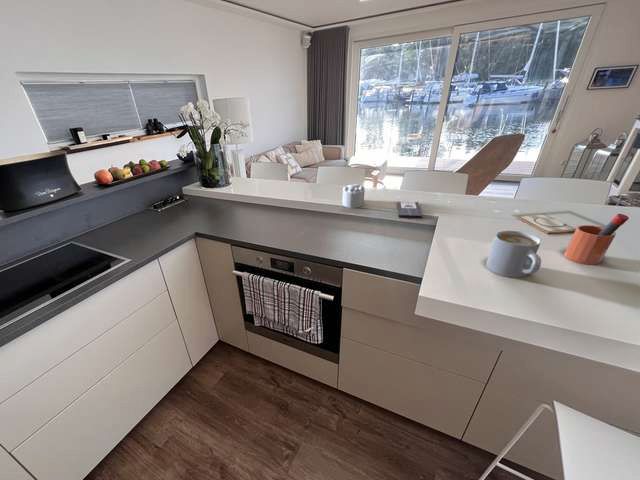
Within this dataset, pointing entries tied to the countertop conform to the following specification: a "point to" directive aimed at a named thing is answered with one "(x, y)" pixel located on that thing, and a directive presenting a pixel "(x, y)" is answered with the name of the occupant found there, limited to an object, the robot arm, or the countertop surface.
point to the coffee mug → (514, 254)
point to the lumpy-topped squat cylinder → (353, 196)
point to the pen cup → (588, 245)
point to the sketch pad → (546, 224)
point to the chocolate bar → (409, 209)
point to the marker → (614, 224)
